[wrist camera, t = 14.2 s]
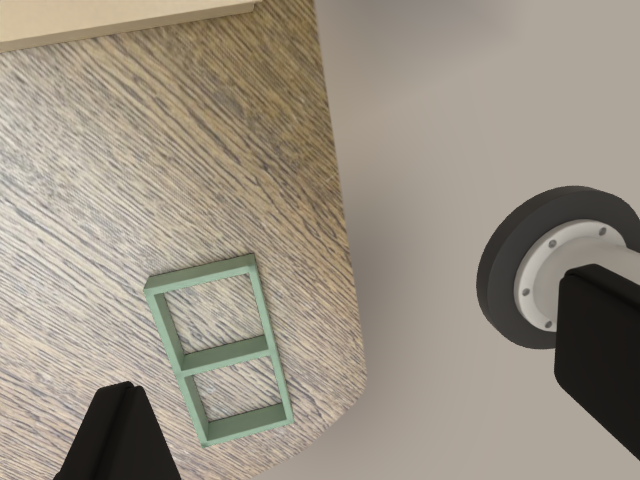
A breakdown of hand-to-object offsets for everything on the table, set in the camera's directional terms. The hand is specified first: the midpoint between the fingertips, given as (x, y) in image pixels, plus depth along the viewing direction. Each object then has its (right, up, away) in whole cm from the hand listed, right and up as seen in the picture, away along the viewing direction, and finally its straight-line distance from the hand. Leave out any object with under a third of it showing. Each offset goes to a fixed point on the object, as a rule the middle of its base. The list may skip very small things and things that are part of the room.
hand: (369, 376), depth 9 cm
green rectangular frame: (-10, -7, +32) cm, 34 cm away
